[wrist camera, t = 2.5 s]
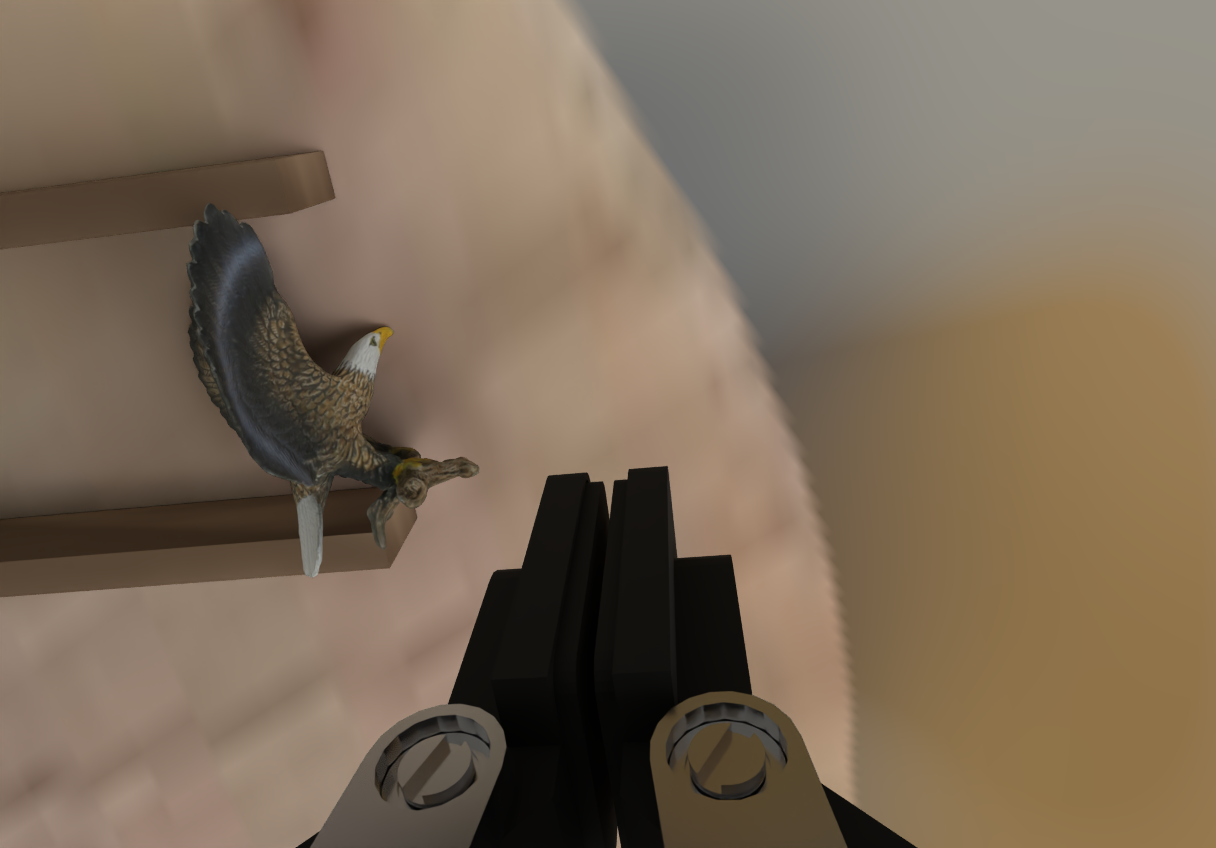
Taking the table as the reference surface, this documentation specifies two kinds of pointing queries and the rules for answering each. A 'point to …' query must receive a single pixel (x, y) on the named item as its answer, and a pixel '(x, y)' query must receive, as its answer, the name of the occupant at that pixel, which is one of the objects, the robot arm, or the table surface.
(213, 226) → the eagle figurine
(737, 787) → the robot arm
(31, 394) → the table surface
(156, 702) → the table surface
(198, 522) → the walnut guide
